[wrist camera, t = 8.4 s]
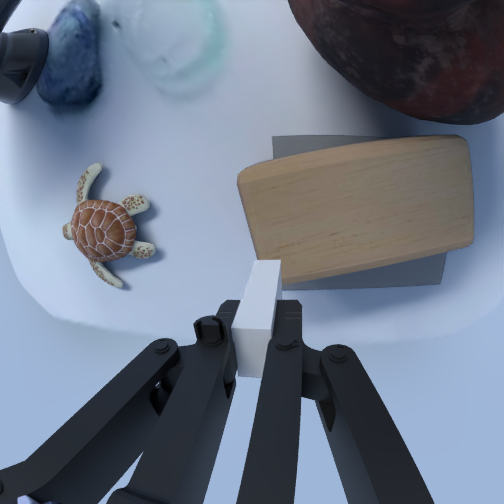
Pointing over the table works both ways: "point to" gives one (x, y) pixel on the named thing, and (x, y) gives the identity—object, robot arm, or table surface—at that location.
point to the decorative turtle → (106, 227)
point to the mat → (384, 276)
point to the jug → (415, 53)
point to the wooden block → (360, 205)
